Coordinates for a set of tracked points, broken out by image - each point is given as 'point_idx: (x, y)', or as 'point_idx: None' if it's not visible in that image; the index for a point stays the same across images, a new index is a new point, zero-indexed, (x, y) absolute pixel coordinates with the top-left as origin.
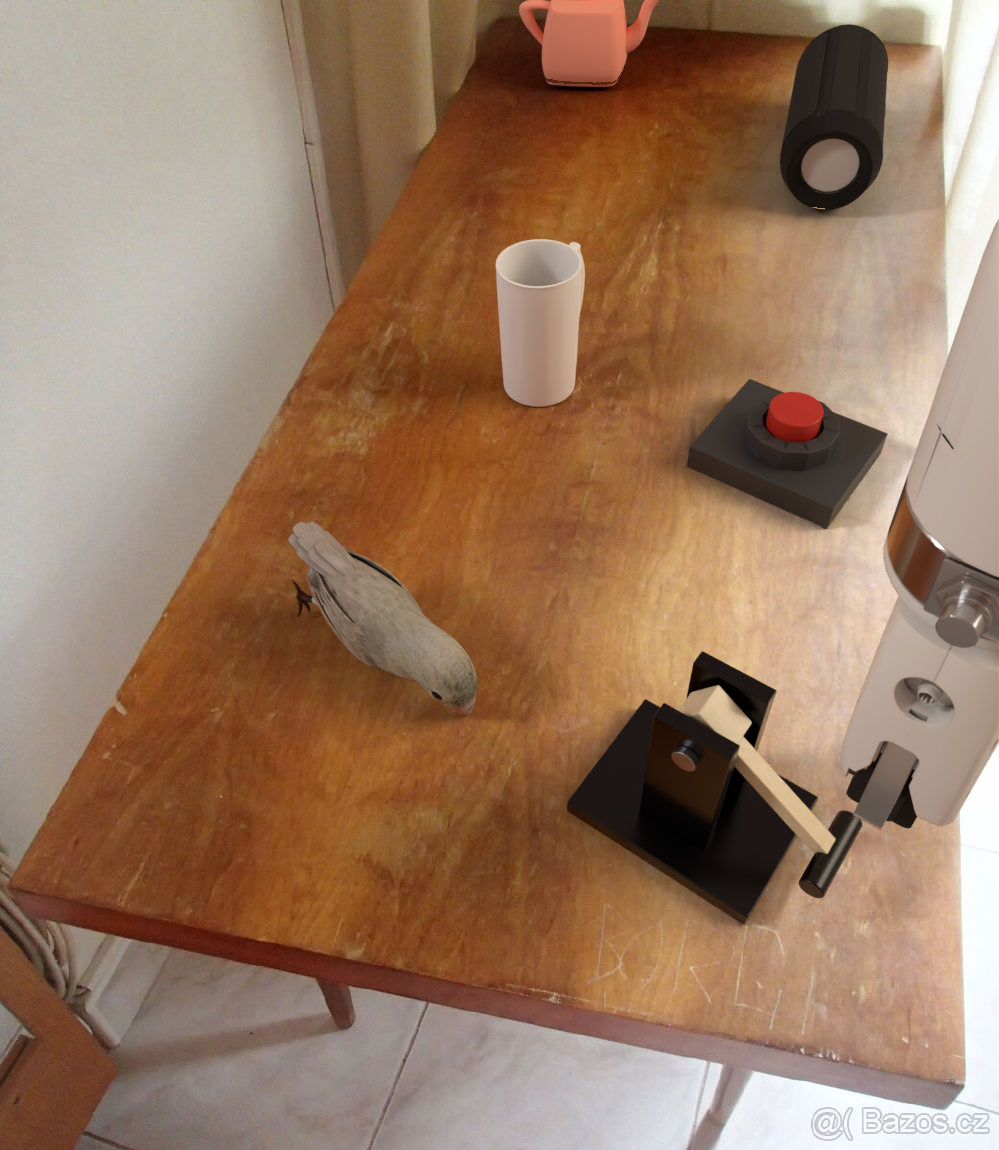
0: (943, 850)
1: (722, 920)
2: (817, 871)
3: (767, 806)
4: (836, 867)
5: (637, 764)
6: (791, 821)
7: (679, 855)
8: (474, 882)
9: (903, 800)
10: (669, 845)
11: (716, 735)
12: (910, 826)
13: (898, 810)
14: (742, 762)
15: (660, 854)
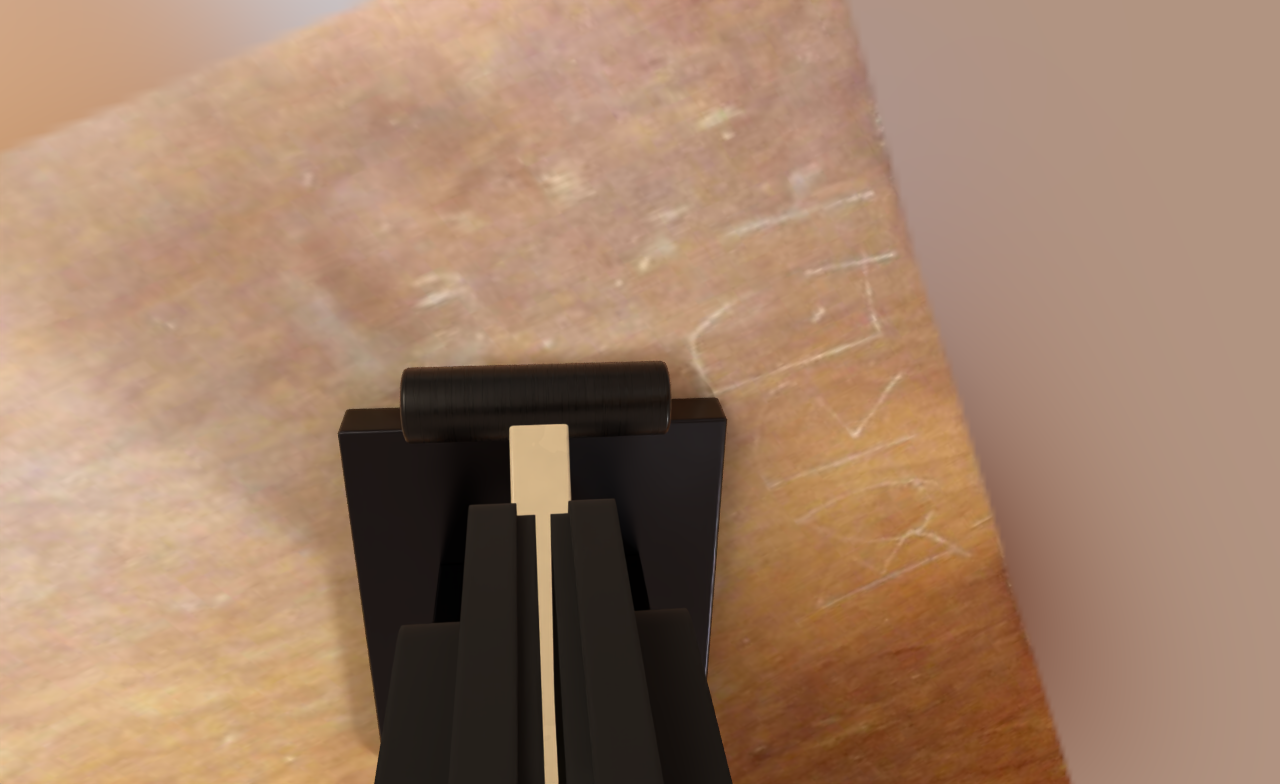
0: (213, 87)
1: (731, 434)
2: (631, 421)
3: (449, 509)
4: (580, 382)
5: None
6: None
7: (677, 584)
8: (897, 767)
9: (724, 762)
10: (669, 608)
11: None
12: (614, 506)
13: (704, 680)
14: None
15: (699, 611)
